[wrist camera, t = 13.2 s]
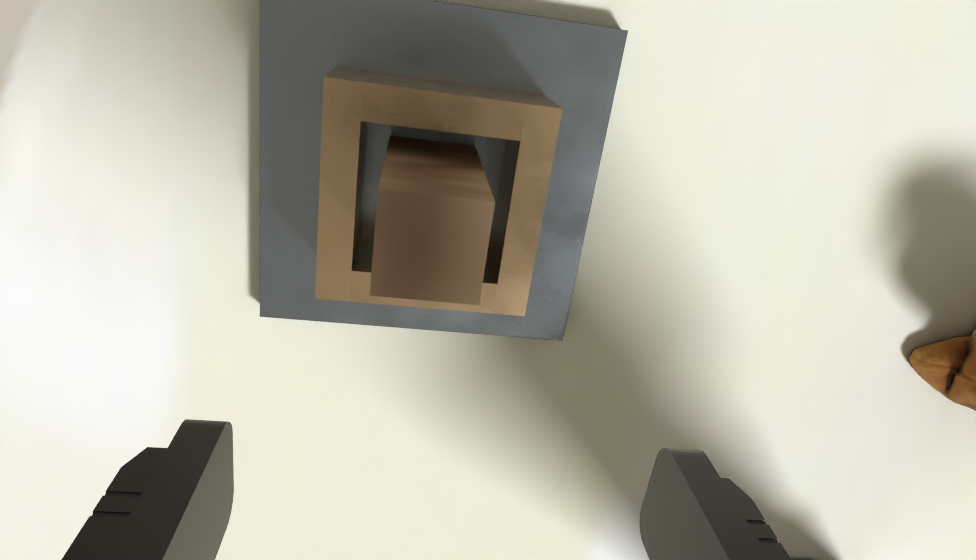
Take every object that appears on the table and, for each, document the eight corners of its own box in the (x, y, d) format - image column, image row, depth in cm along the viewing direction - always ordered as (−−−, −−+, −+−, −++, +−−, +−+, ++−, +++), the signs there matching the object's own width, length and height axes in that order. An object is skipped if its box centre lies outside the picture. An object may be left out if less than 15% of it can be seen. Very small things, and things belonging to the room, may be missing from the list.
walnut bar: (475, 146, 30) (495, 201, 22) (464, 225, 32) (479, 305, 24) (390, 135, 30) (377, 188, 21) (383, 217, 31) (369, 295, 23)
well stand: (621, 29, 30) (657, 35, 25) (558, 331, 36) (578, 380, 31) (265, -26, 27) (234, -30, 23) (264, 307, 34) (239, 356, 29)
